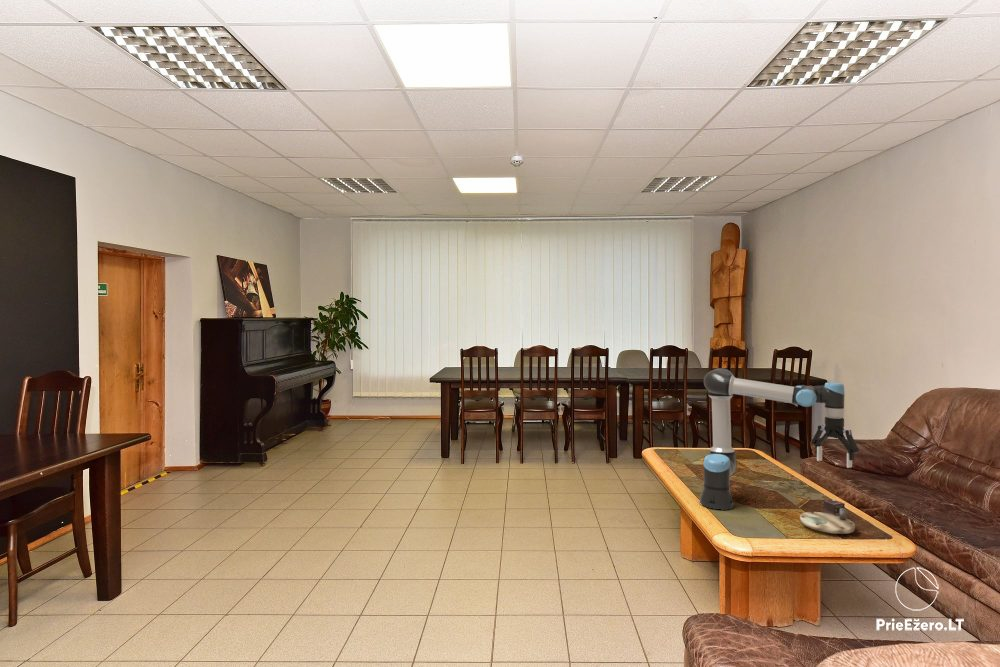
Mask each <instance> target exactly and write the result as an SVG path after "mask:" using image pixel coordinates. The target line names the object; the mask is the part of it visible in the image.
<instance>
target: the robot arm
mask: <svg viewBox="0 0 1000 667" xmlns="http://www.w3.org/2000/svg"><path fill="white" fill-rule="evenodd" d="M703 385H704V387H705V389H706V390H707V393H708V395H707V396H708V397H709V398H710V399H711V420H712V422H711V423H712V424H711V426H712V446H711V447H710V449H709V454H707V455H706V456H705V457H704V458H703V487H702V488H703V489H702V491H701V494H700V495H699V496H700V497H699V504H700V503H701V504H702V505H704V506H706V507H705V508H707V507H709V508H708V509H710V508H713V509H712V510H715V509H721V510H720V511H728V509H729V510H732V509H734V500H733V497H732V494H731V490H730V487H731V484H730V483H731V479H730V478H731V476H732V475H733V474H734V473H735V472H736V470H737V468H738V461H737V457H736V451H735V450H736V449H734V448H733V447H732V423H731V421H732V420H731V399H732V397H734V395H739V396H744V397H751V398H752V397H753V398H757V399H764V400H768V401H769V400H770V401H775V402H784V403H789V404H793V405H799V406H801V407H804V408H805V407H806V408H807V407H808V408H809V407H812V406H814V405H815V404H824V416H825V417H824V425H823V424H821V425H818V426H817V430H816V432H815V434H814V436H813V438H812V440H811V441H810V444H811V445H814V446H815V448H814V449H815V454H816V461H817V462H821V461H823V446H822V445H823V443H825V441H826V440H827V439H829V438H834V439H838V441H840V442H841V444H842V445H843V447H844V448H845V449H846V450H847V452H846V468H847V469H849V468H852V467H853V461H854V460H855V453H859V452H860V450H859V447H858V445H857V444H856V441H855V439H854V437H853V434H852V430H851V429H844V427H845V418H844V417H845V385H844V384H843V383H841V382H825V383H824V386H813V385H804V384H803V385H796V386H790V385H786V384H785V385H784V384H777V383H771V382H764V381H758V380H752V379H745V378H738V377H735V376H734V375H733V373H732V372H731V371H730V370H728V369H725V368H721V367H720V368H715V369H713V370H710V371H708V372H707V373H706V374H705V375H704V377H703ZM824 431H825V433H824ZM823 433H824V434H823ZM822 434H823V435H822ZM701 504H700V505H701ZM702 505H701V506H702ZM704 506H703V507H704Z"/></svg>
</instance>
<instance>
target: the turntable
mask: <svg viewBox="0 0 1000 667" xmlns="http://www.w3.org/2000/svg"><path fill="white" fill-rule="evenodd" d="M799 522H800V523H801V524H802V526H805V527H806V528H809V529H811V530H815V531H819V532H823V533H827V534H836V535H837V534H839V535H845V534H846V535H847V534H851V533H853V532H855V526H856V525H855V522H853V521H852V520H851V519H848V518H847V509H846V508H845V509H844V508H840V516H838V515H834V514H829V513H823V512H818V511H805V512H802V513H801V514H800V515H799Z"/></svg>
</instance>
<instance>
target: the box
mask: <svg viewBox="0 0 1000 667" xmlns="http://www.w3.org/2000/svg"><path fill="white" fill-rule="evenodd" d="M840 508H844V509H846V508H845V503H844V502H842V501H839V500H836V499H827V500H825V499H824V500H823V507H822V510H823V512H822V513H829V514H834V515H838V516H840Z"/></svg>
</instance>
